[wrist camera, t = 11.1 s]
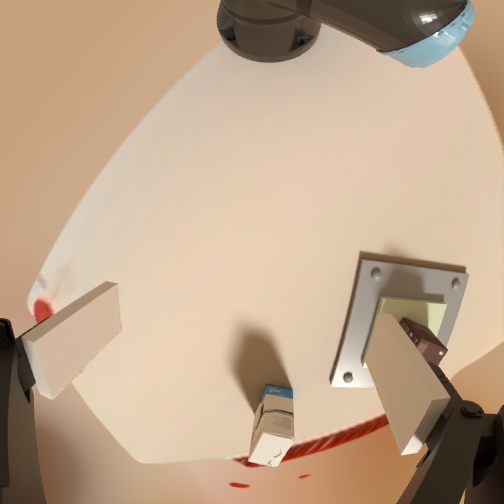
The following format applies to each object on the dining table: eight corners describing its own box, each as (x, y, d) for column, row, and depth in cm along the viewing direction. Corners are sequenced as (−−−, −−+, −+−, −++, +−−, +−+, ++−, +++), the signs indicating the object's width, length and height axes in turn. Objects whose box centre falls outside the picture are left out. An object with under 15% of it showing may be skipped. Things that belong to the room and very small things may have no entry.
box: (403, 315, 40) (422, 337, 33) (429, 327, 40) (449, 349, 33) (382, 347, 41) (396, 374, 34) (409, 358, 41) (425, 383, 34)
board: (361, 258, 41) (365, 262, 39) (466, 272, 40) (472, 276, 37) (330, 382, 46) (331, 390, 44) (427, 383, 45) (431, 389, 42)
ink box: (266, 383, 47) (262, 431, 36) (294, 389, 47) (295, 438, 35) (253, 415, 49) (246, 462, 38) (278, 421, 49) (276, 468, 37)
